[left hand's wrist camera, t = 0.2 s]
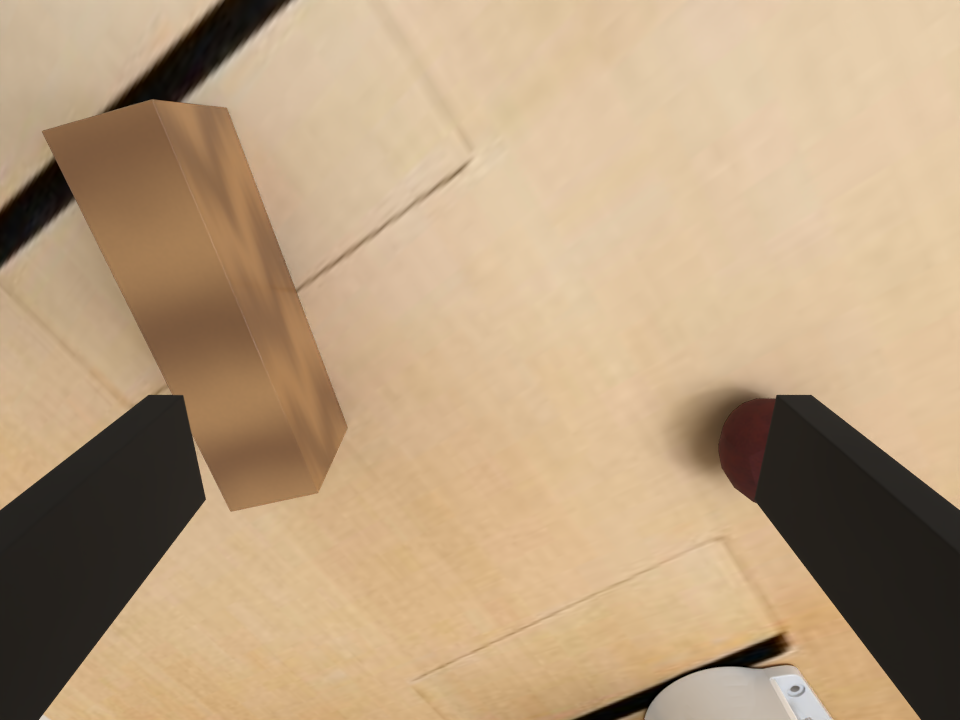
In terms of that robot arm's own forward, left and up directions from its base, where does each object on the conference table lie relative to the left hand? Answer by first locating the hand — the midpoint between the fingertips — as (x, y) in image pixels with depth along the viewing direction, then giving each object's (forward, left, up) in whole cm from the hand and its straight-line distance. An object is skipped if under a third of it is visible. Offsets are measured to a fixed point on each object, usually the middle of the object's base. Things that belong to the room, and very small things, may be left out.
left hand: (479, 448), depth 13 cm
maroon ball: (+14, +21, -27) cm, 37 cm away
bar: (+4, -16, -27) cm, 32 cm away
